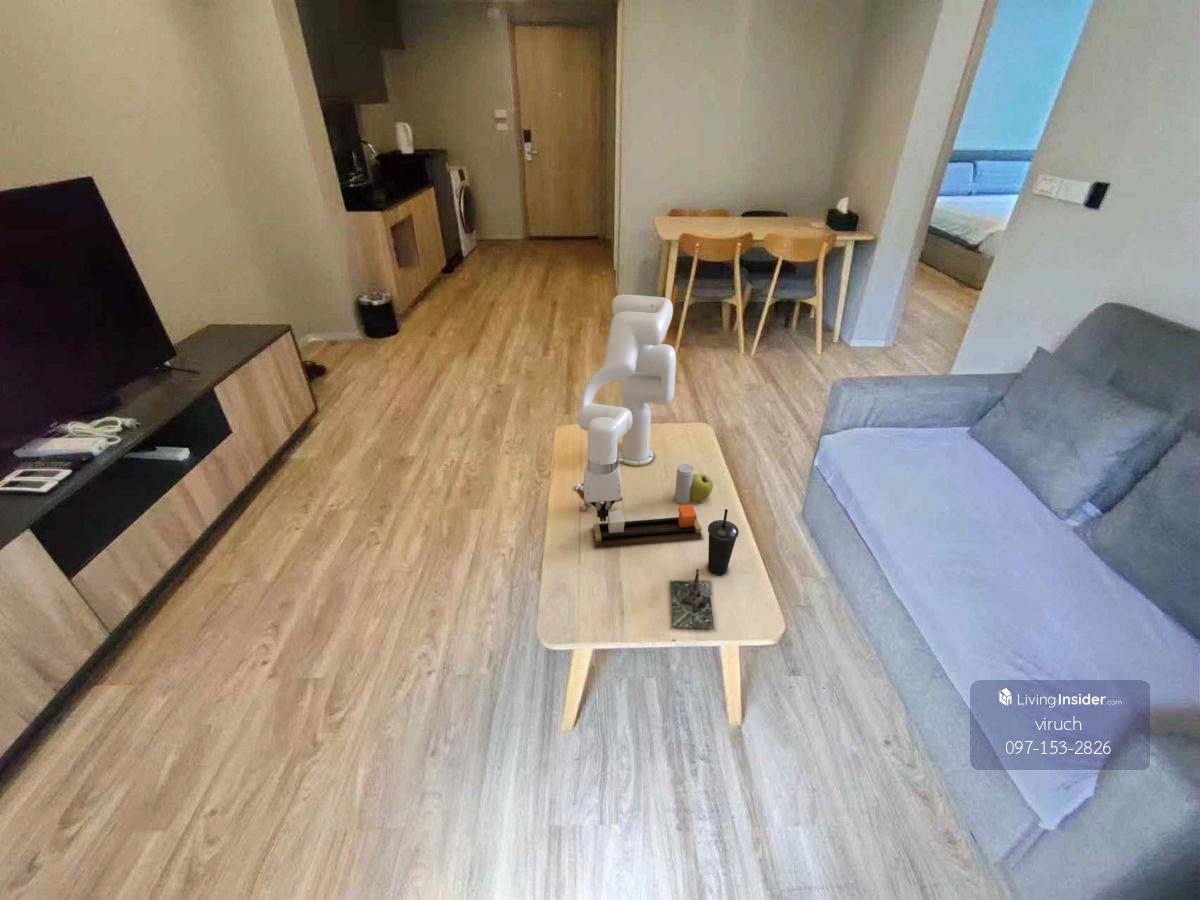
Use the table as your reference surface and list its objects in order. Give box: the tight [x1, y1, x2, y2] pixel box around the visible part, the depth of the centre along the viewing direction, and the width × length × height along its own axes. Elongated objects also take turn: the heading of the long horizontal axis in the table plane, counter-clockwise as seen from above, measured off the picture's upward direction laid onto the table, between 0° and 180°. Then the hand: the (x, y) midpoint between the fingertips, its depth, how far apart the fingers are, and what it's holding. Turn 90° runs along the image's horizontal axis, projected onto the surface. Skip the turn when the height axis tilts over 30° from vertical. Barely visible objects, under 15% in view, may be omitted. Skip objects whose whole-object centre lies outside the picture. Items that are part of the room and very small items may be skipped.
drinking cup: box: [707, 508, 740, 576], centre depth 137 cm, size 8×8×20 cm
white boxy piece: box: [607, 510, 625, 534], centre depth 151 cm, size 5×4×6 cm
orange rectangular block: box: [677, 504, 698, 528], centre depth 153 cm, size 5×4×6 cm
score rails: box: [593, 516, 702, 541], centre depth 153 cm, size 6×30×2 cm, turn 97°
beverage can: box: [674, 463, 694, 505], centre depth 164 cm, size 5×5×12 cm
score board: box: [592, 523, 702, 549], centre depth 154 cm, size 8×30×2 cm, turn 97°
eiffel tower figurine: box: [670, 568, 715, 629], centre depth 129 cm, size 15×10×13 cm
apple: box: [690, 470, 714, 503], centre depth 166 cm, size 8×8×10 cm
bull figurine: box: [571, 482, 613, 512], centre depth 162 cm, size 4×13×8 cm, turn 78°
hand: (602, 518), depth 149 cm, fingers closed
